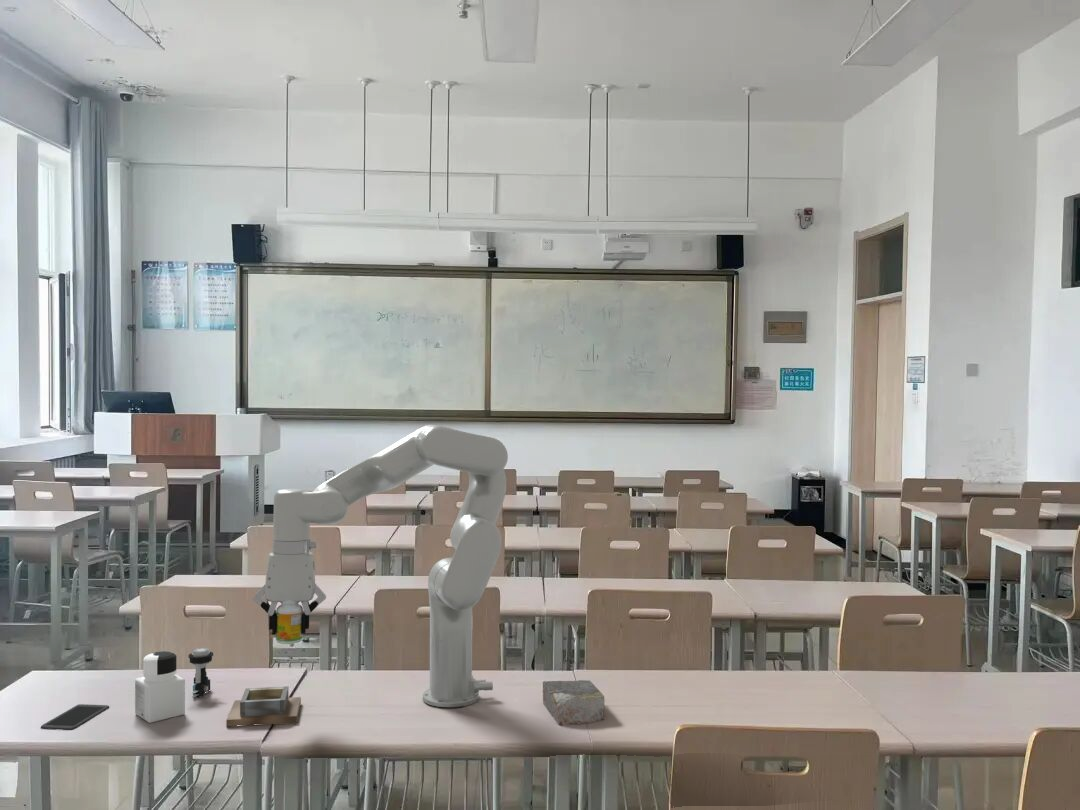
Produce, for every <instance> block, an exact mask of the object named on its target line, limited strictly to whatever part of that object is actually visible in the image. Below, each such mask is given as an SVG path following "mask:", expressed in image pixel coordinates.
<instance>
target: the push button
mask: <svg viewBox="0 0 1080 810" xmlns="http://www.w3.org/2000/svg"><path fill="white" fill-rule="evenodd" d="M187 657H188V658H189V663H190V664H192V665H194V666H195V674H194V675H195V676H194V678H193V684H192V698H197V697H196V696H201V695H202V696H203V694H204V693H205V692H206V693H205V694H206V695H207V694H208V693H209V692H210V691H211V679H210V678H209V677H208V676H207V673H208V672H207V665H208V664H209V663H211V662H212V660H213V657H214V652H213V651H210V649H209V648H208V647H199V648H194V649H193V650H192V652H191V653H189V654H188V656H187ZM209 690H210V691H209ZM205 694H204V695H205ZM202 696H201V697H202Z"/></svg>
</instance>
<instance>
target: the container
mask: <svg viewBox="0 0 1080 810" xmlns="http://www.w3.org/2000/svg"><path fill="white" fill-rule="evenodd" d="M142 663H143V664H142V665H143V673H142V674H143V675H142V676H141V677H136V678H135V680H134V683H135V684H134V685H135V686H134V698H135V699H134V713H135V715H137V716H138V717H139V718H141V719H143V720H145V721H146V722H147V723H150V724H152V723H156V722H160V721H163V720H168V719H173V718H176V717H179V716H184V715H185V713H186V680H185V678H183V677H181V676H179V674H177V655H176V654H175V653H174V652H171V651H166V650H165V651H156V652H152V653H149V654H147V655H146V656H144V658H143V661H142Z"/></svg>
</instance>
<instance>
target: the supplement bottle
mask: <svg viewBox="0 0 1080 810" xmlns="http://www.w3.org/2000/svg"><path fill="white" fill-rule="evenodd" d="M279 603H280V605H277V606H278V607H276V613H277V621H276V634H275V641H276V643H278V644H282V645H295V644H299V643H300V642H301V641H302V640H303V633H302V615H303V611H304V609H303V606H302V604H299V603H300V602H295V601H291V600H288V601H284V602H279Z"/></svg>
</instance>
